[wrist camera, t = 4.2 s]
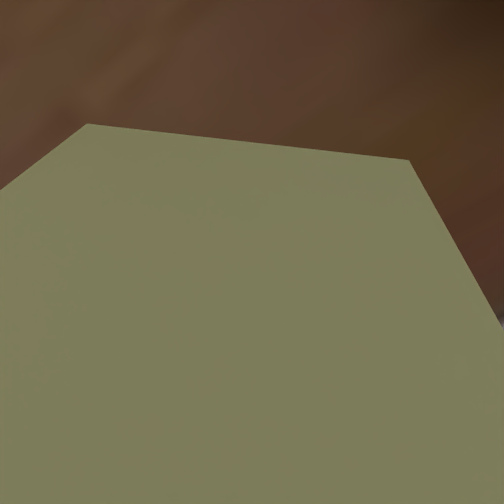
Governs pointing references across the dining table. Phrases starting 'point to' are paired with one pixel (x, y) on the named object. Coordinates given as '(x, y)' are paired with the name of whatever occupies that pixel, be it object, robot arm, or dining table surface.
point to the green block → (239, 330)
